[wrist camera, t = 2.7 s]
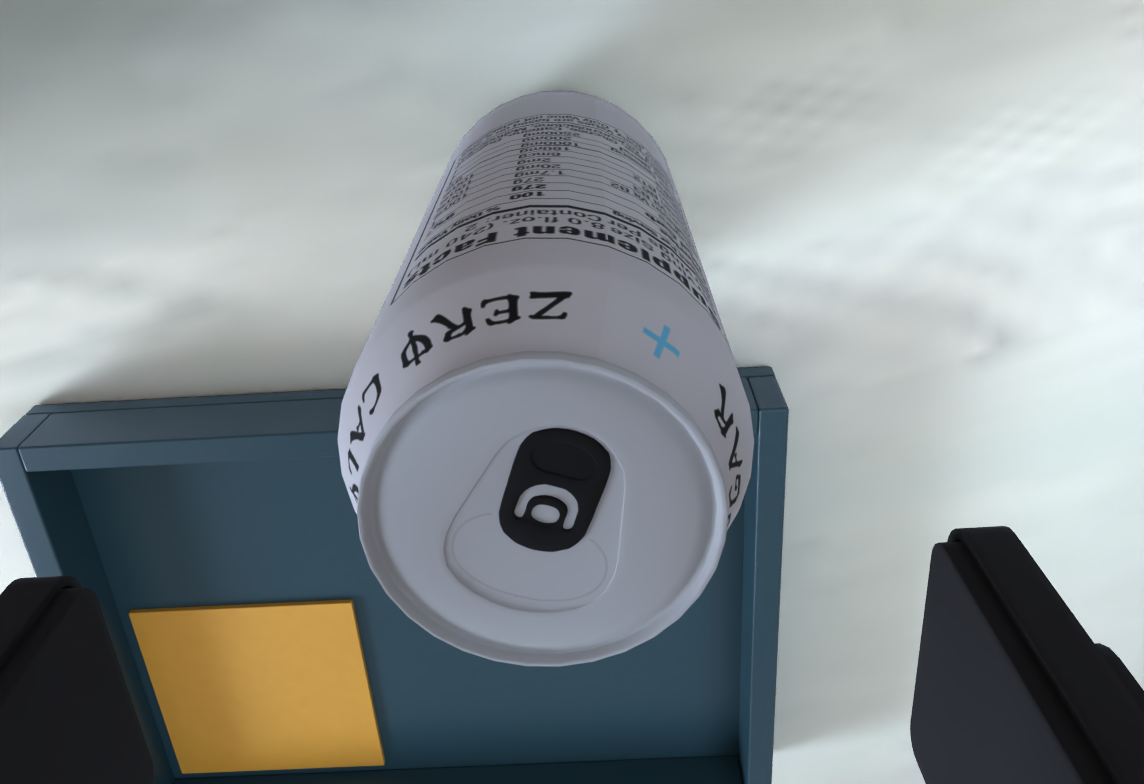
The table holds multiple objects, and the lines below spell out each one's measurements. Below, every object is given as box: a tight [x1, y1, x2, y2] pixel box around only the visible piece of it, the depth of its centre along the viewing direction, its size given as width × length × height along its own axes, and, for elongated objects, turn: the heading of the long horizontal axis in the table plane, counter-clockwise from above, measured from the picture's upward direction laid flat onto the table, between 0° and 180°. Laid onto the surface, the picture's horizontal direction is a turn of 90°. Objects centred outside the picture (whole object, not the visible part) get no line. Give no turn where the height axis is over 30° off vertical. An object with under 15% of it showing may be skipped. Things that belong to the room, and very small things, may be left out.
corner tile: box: [129, 599, 385, 774], centre depth 33 cm, size 7×7×1 cm
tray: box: [0, 367, 789, 784], centre depth 31 cm, size 22×16×3 cm
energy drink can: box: [338, 91, 754, 666], centre depth 19 cm, size 6×6×15 cm
